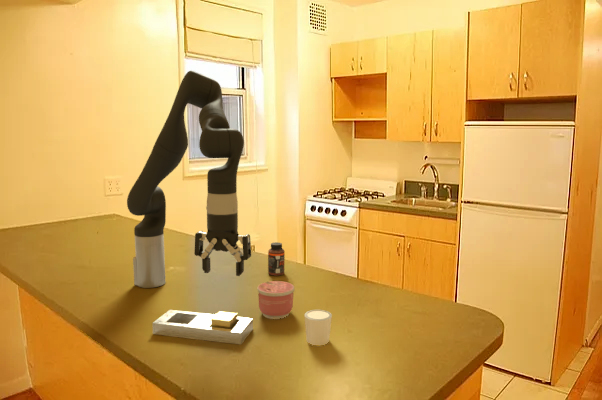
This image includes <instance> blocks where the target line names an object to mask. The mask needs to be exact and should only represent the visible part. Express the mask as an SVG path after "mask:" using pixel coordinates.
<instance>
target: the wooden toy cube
mask: <svg viewBox="0 0 602 400" xmlns="http://www.w3.org/2000/svg"><path fill="white" fill-rule="evenodd" d="M215 314H216V315H215V316H214V317H213V318H212V319H211V327H216V328H225V329H232V328H233V327H234V326H235V325H236V324H237V317H238V312H230V311H220V310H219V311H218V312H216V313H215Z"/></svg>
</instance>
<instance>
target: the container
mask: <svg viewBox="0 0 602 400" xmlns="http://www.w3.org/2000/svg"><path fill="white" fill-rule="evenodd" d="M256 288H257V289H256V290H257V292H258V293H257V294H258V296H257V297H258V308H259V310H260V312H261V313H262V316H263V317H265V318H267V319H270V320H273V319H274V320H280V318H281V319H284V317H285V318H287V317H289V314H290V313H291V312H292V310H293V306H294V292H295V285H294V284H292V283H290V282H287V281H281V280H274V281H273V280H272V281H266V282H262V283H260V284H258V286H257V287H256ZM286 316H287V317H286Z"/></svg>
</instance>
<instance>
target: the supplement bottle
mask: <svg viewBox="0 0 602 400" xmlns="http://www.w3.org/2000/svg"><path fill="white" fill-rule="evenodd" d="M267 257H268V259H267V261H268V262H267V264H268V265H267V272H268V274H269V275H270V276H274V277H275V276H276V277H277V276H283V275H284V274H285V261H286V260H285V259H286V258H285V257H286V255H285V250H284V248H283V243H282V242H272V243H270V248H269V249H268V251H267Z"/></svg>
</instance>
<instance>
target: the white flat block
mask: <svg viewBox="0 0 602 400" xmlns="http://www.w3.org/2000/svg"><path fill="white" fill-rule="evenodd" d="M216 314H217V313H215V314H214V313H213V314H212V313H205V312H195V311H187V310H175V309H174V310H173V309H168V310H167V311H166V312H165V313H164V314H162V315H161V316H160V317H158V318H157V319H155V320H154V321H153V322H152V324H151V325H152V326H151V327H152V334H153V335H157V336H158V335H160V336H166V337H167V336H168V337H175V338H176V337H177V338H183V339H193V340H201V341H210V342H216V343H217V342H218V343H226V344H235V345H242V344H243V343H244V341H245V340H246V338H247V337H248V336H249V335H250V333H251V332H252V331H253V330H254V318H250V317H243V316H237V324H236V325H235V326H234V327H233V328H232V329H225V328H216V327H211V319H212V318H213V317H214V316H215V315H216Z"/></svg>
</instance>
